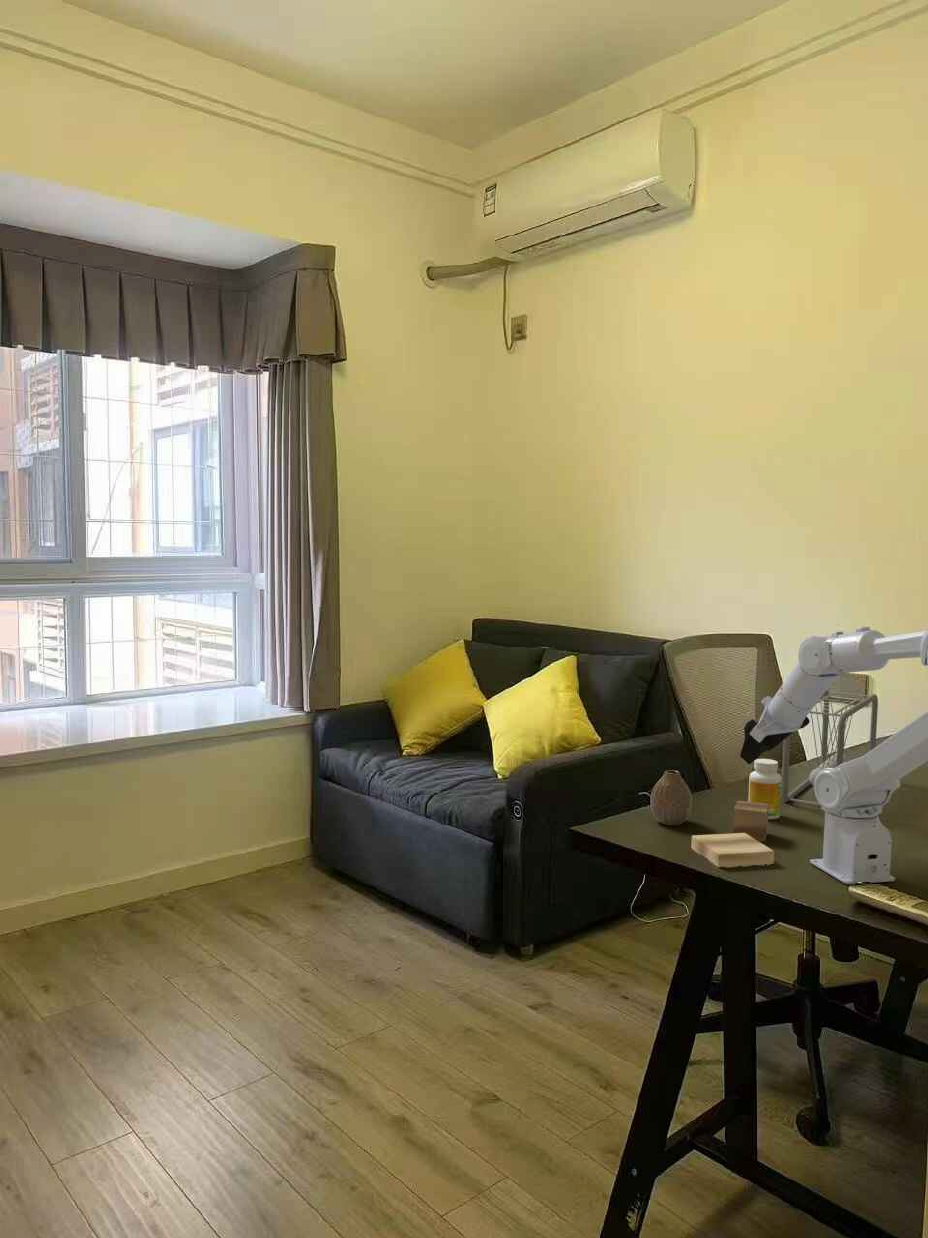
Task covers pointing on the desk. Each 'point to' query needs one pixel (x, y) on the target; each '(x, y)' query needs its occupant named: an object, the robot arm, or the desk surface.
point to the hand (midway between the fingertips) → (758, 750)
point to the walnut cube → (751, 819)
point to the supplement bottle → (766, 786)
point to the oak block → (732, 850)
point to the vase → (671, 799)
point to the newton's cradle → (840, 755)
